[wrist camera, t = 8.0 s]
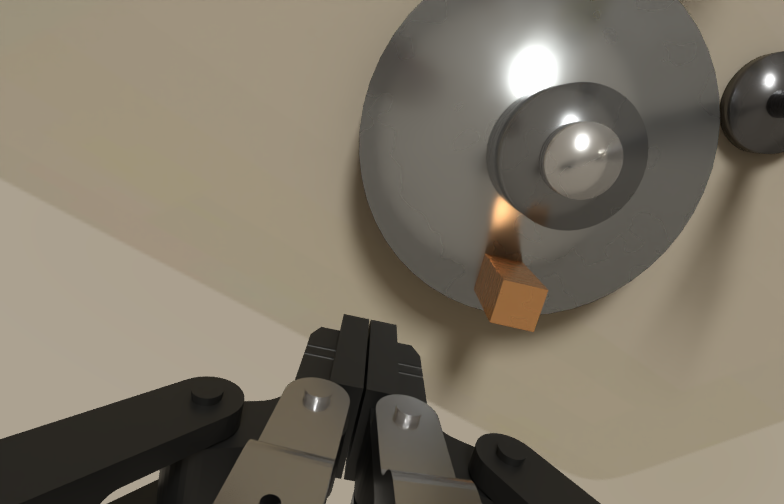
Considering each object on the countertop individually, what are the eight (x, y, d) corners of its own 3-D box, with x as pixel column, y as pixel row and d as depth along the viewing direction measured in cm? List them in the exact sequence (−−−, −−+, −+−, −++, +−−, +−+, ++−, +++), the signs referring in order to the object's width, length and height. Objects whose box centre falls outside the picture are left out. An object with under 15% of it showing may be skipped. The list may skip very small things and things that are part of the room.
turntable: (753, 12, 22) (874, -23, 17) (622, 330, 27) (684, 386, 21) (406, -86, 21) (413, -159, 16) (331, 264, 26) (315, 306, 20)
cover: (631, 105, 22) (686, 102, 18) (586, 227, 23) (628, 250, 19) (507, 72, 21) (535, 61, 17) (470, 200, 23) (488, 217, 19)
